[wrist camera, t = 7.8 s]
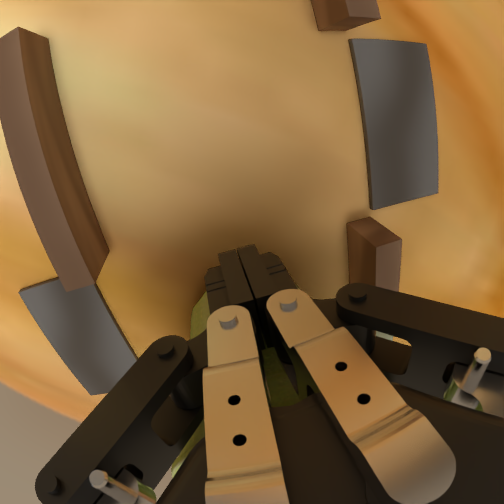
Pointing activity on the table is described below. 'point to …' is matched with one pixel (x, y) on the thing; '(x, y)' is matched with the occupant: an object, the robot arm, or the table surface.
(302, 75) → the table surface
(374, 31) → the table surface
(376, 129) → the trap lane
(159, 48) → the table surface
